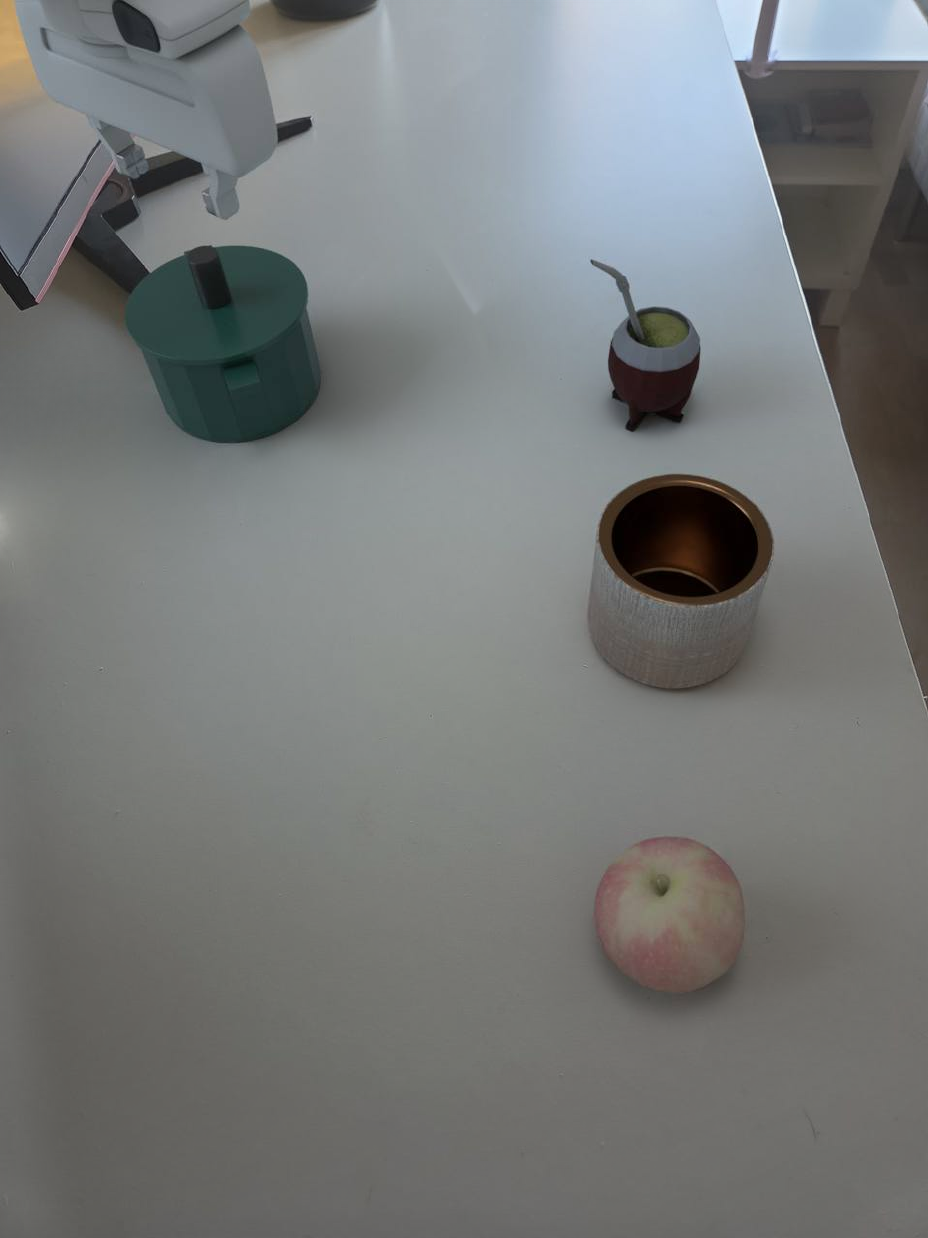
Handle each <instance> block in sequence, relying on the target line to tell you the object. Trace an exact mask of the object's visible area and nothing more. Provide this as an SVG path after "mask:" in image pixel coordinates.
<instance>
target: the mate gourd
mask: <svg viewBox="0 0 928 1238" xmlns="http://www.w3.org/2000/svg"><path fill="white" fill-rule="evenodd" d="M589 261H590V264H591V265H592V266H594V267H595V268H597V269H599V270H601V271H603V272H604V273H606V274H607V275H609V276H610V277H612V278H613V279H614V280H615V285H616V287H617V289H618V291H619V293H621V295H622V298H623V301H624V302H623V303H624V305H625V307H626V311H627V314H628V315H627V317H626V318H625V319H624V320H622V322H621V323H620V324H619V325H618V327H617V328H616V329H615V330H614V331H613V335H612V338H611V340H610V344H609V349H608V357H607V369H608V374H609V378H610V380H611V383H612V385H613V387H614V388H613V389H612V391H611V398H612V399H614V400H617V401H619V402H621V403H624V404H626V406H627V407H628V412H629V414H628V415H629V419H628V420H627V422H626V424H625V429H626V430H627V431H629V432H635V431H636V430H637V429H638V427H639V426H640V425H641V424H642V422H643V421H644V420H645V418H646V417H647V416H648V415H649V414H652V415H655V416H658V417H660V418H662V419H666V420H667V421H671V422H673V423H676V424H680V423H681V422H682V421H683V419H684V417H685V414H684V413H683V412H682V411H683V409H684V407H685V406H686V404H687V403H688V401H689V399H690V398H691V394H692V391H693V387H694V385H695V382H696V379H697V377H698V373H699V370H700V362H701V350H702V349H701V338H700V336H699V334H698V332H697V329H696V328H695V326H694V324H693V322H692V321H691V320H690V318H688V317H687V316H686V315H684V314H683V313H682V312H680V310H679V311H678V310H675V309H673V308H670V307H668V306H667V307H664V306H647V307H644V308H643V307H642V308H639V309H637V310H636V309H635V305H634V302H633V298H632V296H631V295H632V294H631V292H630V288H631V287H630V283H629V280H628V279H627V277H626V276H625V275H623V273H621V272H620V271H619V270H617V268H615V267H613V266H609V265H607V264H605V263H602V262H600V261H597V260H595V259H590V260H589Z"/></svg>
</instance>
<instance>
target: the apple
mask: <svg viewBox="0 0 928 1238" xmlns="http://www.w3.org/2000/svg"><path fill="white" fill-rule="evenodd" d="M593 920H594V928H595V932H596V935H597V938H598V941H599V943H600V945H601V947H602V949H603V950H604V951H605V953H606V955H607V956H608V957H609V959H610V960H611V961H612V963H613V964H614V965H615V966H616V967H617V968H618V969H619V970H620V971H621V972H622V973H624V974H625V975H626V976H628V977H629V978H631V979H632V980H634V981H635V982H636V983H639V984H640V985H642V986H644V987H647V988H649V989H651V990H655V991H657V992H662V993H667V994H668V993H669V994H683V993H684V994H685V993H690V992H693V991H696V990H699V989H701V988H704V987H705V986H708V985H709V984H710V983H712V982H713V981H715V980H717V979H719V978H720V977H721V976H723V975H724V974H725V973H727V972H728V971H729V970H730V969H731V968H732V966H733V965H734V964H735V962H736V960H737V958H738V956H739V954H740V951H741V947H742V944H743V941H744V937H745V931H746V910H745V903H744V897H743V891H742V888H741V885H740V882H739V879H738V877H737V876H736V874H735V872H734V871H733V869H732V868H731V866H730V865H729V864H728V863H727V862H726V860H725V859H724V858H723V857H721V856H720V855H719V853H717V852H716V851H715V850H713V849H712V848H710V847H709V846H708V845H706V844H704V843H702V842H700V841H697V840H694V839H691V838H687V837H685V836H684V837H683V836H658V837H653V838H648V839H644V840H641V841H639V842H637V843H635V844H633V845H631V846H630V847H628V848H626V849H624V851H622V852H620V853H619V855H617V856H616V857H615V858H614V859H613V860H612V861H611V863H610V864H609V865H608V867H607V868H606V870H605V871H604V873H603V874H602V877H601V879H600V881H599V882H598V886H597V889H596V893H595V896H594V903H593Z"/></svg>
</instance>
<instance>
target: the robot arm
mask: <svg viewBox="0 0 928 1238" xmlns="http://www.w3.org/2000/svg"><path fill="white" fill-rule="evenodd" d="M13 3H14V8H15V13H16V17H17V21H18V24H19V27H20V31H21V34H22V38H23V41H24V44H25V47H26V50H27V53H28V56H29V59H30V62H31V65H32V68H33V71H34V74H35V76H36V79H37V80H38V82H39V84H40V86H41V87H42V89H43V90H44V92H45V93H46V95H47V96H48V97H49V98H50V99H51V100H52V101H53V102H54V103H56V104H59V105H62V106H64V107H66V108H69V109H71V110H74V111H76V112H78V113H81V114H83V115H85V116H86V119H87V121H88V124H89V126H90V128H91V129H92V130H93V132H94V133H95V134H96V136H97V137H98V138H99V140H100V141H101V143H102V144H103V146H104V147H105V148H106V150H107V152H109V153H110V156H111V158H112V161H113V163H114V167H115V169H116V171H117V173H118V174H120V175H123V176H125V177H126V178H130V179H131V180H137V179H139V178H140V176H143V175H145V174H146V173H147V172H148V170H149V163H148V161H147V159H146V153H145V150H144V148H143V146H141V145H140V144H137V143H135V141H134V139H133V137H132V135H133V136H136V137H138V138H140V139H143V140H144V141H148V142H150V143H152V144H154V145H157V146H160V147H161V148H164V149H166V150H168V151H171V152H174V153H177V154H178V155H181V156H183V157H186V158H188V159H190V160H193V161H195V162H198V163H200V164H201V167H202V171H203V173H204V174H205V176H210V182H209V187H207V188H205V189H203V190H202V191H201V195H202V200H203V202H204V204H205V208H206V212H207V213H208V214H210V215H212V216H214V217H216V218H219V219H221V220H223V221H227V220H229V219H230V218H232V217H233V216H234V215H236V214H238V212H239V210H240V201H239V198H238V194H237V190H236V189H237V188H236V187H237V183H238V179H239V178H242V177H244V176H247V175H248V174H249V173H252V172H253V171H255V170H256V169H257V168H259V167H260V166H262V165H263V164H265V163H266V162H267V161H269V160H270V159H272V156H274V154H275V151H276V149H277V146H278V141H279V140H278V139H279V138H278V137H279V136H278V127H277V122H276V117H275V112H274V107H273V102H272V97H271V92H270V88H269V85H268V80H267V76H266V72H265V68H264V65H263V61H262V58H261V55H260V53H259V50H258V48H257V45H256V44H255V42H254V39H252V36H251V35H250V34H249V32H248V31H247V30H246V29H245V28H244V27H243V26H242V25H241V23H242V22H244V21H246V20H247V19H248V18H249V17H250V15H251V2H250V0H14V2H13Z"/></svg>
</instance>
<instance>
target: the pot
mask: <svg viewBox="0 0 928 1238" xmlns="http://www.w3.org/2000/svg"><path fill="white" fill-rule="evenodd" d="M208 246H212V244H209V245H208ZM212 247H213V246H212ZM191 250H192V249H190V250H186V251H184V252H183V255H185V254H188V253H189V252H190V251H191ZM307 307H308V306H306V310H305V312H304V314H303V316H302V318H301V319H300V321H299V322H298V323H297V325H296V326H295V327H294V328H293V329H292V330H291V331H290V332H289V333H288V334H287V335H286V336H284V337H283V338H282V339H281V340H279V341H278V342H276V343H275V344H273V345H272V346H270V347H268V348H266V349H264V350H262V351H260V352H258V353H256V354H253V355H251V356H248V357H245V358H242V359H239V360H235V361H231V362H226V363H220V364H214V365H184V364H176V363H172V362H167V361H164V360H161V359H158V358H156V357H154V356H152V355H150V354H148V353H146V352H145V351H144V350H142V349H141V348H140V350H141V353H142V355H143V358H144V360H145V362H146V365H147V367H148V370H149V372H150V376H151V377H152V380H153V382H154V385H155V387H156V390H157V392H158V395H159V397H160V400H161V402H162V404H163V407H164V409H165V411H166V414H167V415H168V417H170V419H171V421H172V422H173V423H174V424H175V425H176V426H177V427H178V429H181V430H182V432H185V433H187V434H188V435H190V436H192V437H195V438H197V439H199V440H204V441H208V442H214V443H221V444H223V443H225V444H226V443H227V444H232V443H243V442H244V443H245V442H251V441H255V440H259V439H262V438H265V437H268V436H271V435H273V434H276V433H278V432H280V431H282V430H284V429H286V428H288V427H289V426H291V425H292V424H294V423H295V422H297V421H298V420H299V419H300V418H301V417H302V416H304V415H305V413H306V412H308V410H309V409H310V408H311V407H312V405H313V403H314V402H315V400H316V399H317V396H318V394H319V390H320V388H321V379H322V378H321V373H322V370H321V367H320V361H319V357H318V352H317V348H316V344H315V339H314V334H313V329H312V327H311V325H312V324H311V322H310V321H311V320H310V317H309V312H308V308H307Z"/></svg>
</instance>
